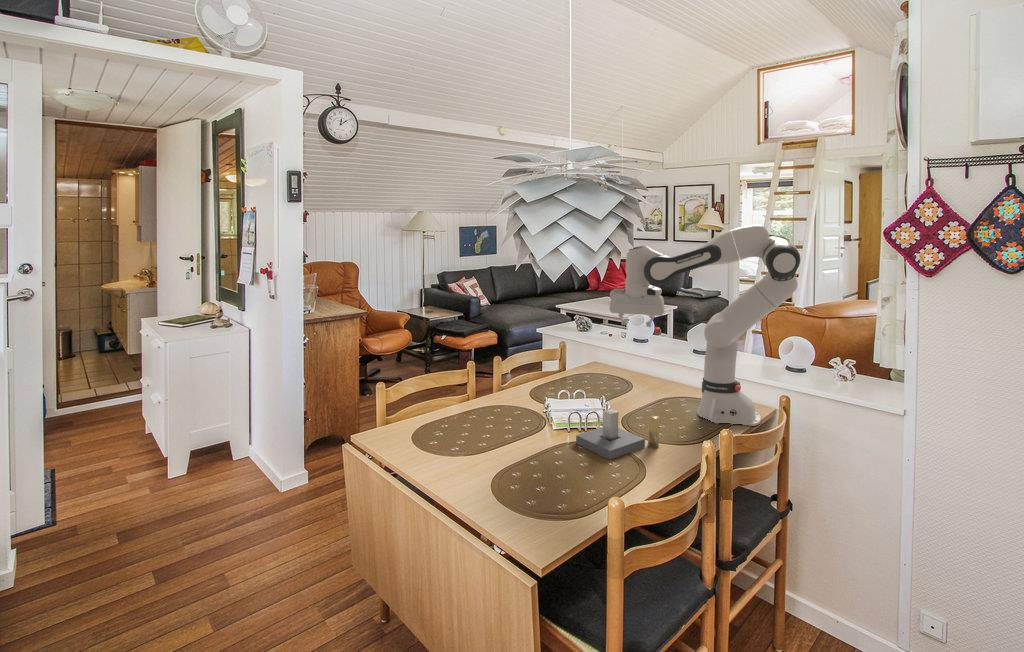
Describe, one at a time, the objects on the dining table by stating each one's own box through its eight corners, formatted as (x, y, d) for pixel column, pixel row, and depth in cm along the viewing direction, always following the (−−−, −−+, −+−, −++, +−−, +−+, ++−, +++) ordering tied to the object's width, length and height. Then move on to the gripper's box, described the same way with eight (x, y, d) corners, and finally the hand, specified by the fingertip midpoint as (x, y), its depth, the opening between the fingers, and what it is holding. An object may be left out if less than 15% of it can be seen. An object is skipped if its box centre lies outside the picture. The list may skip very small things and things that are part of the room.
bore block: (576, 443, 192) (576, 435, 191) (610, 432, 201) (610, 424, 200) (609, 459, 179) (609, 450, 178) (644, 447, 188) (645, 438, 187)
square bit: (602, 444, 190) (602, 410, 188) (610, 442, 192) (610, 408, 190) (610, 448, 187) (610, 413, 185) (617, 445, 189) (618, 411, 187)
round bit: (659, 445, 189) (660, 416, 187) (657, 449, 186) (658, 420, 184) (648, 443, 191) (649, 415, 189) (646, 447, 188) (647, 418, 186)
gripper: (607, 289, 214) (607, 325, 217) (662, 291, 205) (661, 329, 208) (612, 287, 220) (611, 322, 222) (666, 289, 211) (664, 325, 214)
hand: (636, 325), depth 215 cm, fingers open, 8 cm apart
